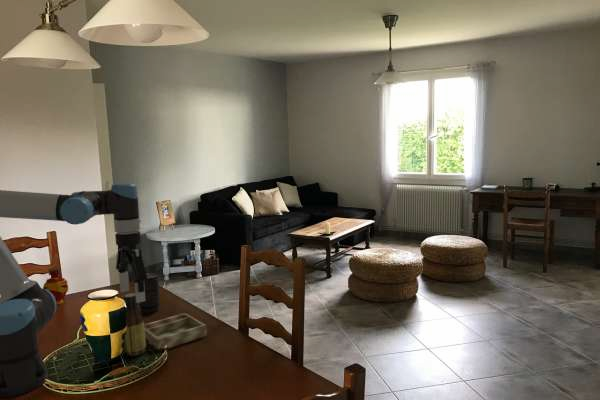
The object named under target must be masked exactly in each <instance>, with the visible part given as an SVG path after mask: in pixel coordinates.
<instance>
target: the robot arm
mask: <svg viewBox="0 0 600 400" xmlns="http://www.w3.org/2000/svg"><path fill="white" fill-rule="evenodd" d="M137 189H138V188H137V185H136V184H135V183H132V182H122V183H121V182H120V183H113V184H111V189H108V190H88V191H87V190H83V191H75V192H72V193H71V194H60V193H59V194H57V193H48V192H47V193H45V192H44V193H43V192H32V191H17V190H2V189H0V218H8V219H23V220H25V219H26V220H39V221H40V220H42V221H55V222H57V221H59V222H66V223H68V224H70V225H76V226H77V225H82V224H84V223H85V224H86V222H88V221H89V220H90V219H92V218H93V217H95V216H101V215H102V216H103V215H104V216H105V215H113V226H114V233H115V236H114V237H115V245H116V246H117V255H116V262H115V269H116V270H117V272H118V274H119V275H118V276H119V277H118V278H119V289H120V290H119V291H120V293H121V294H122V293H127V292H129V291H130V281H129V270H130V269H131V271H132V274H133V277H134V280H133V283H134V291H135V292H134V293H135V294H136V303H137V304H139V302H143V301H146V300H145V286H144V281H145V280H147V276H146V273H147V272H146V269H145V265H144V260H143V256H142V250H141V249H137V245H139V244H141V242H142V237H141V231H140V229H141V227H140V226H141V225H140V223H141V222H142V221H141V219H140V210H139V196H138V191H137ZM129 265H130V269H129V268H128V267H129ZM140 277H141V278H140ZM56 311H57V304H56V300H55V297H54V296H53V294H52V293H51V292H50V291H48V290H46V289H43V287H41V286H40V284H39V282H38V281H36V280H33V279H29V277H28V276H27V274H26V273H25V271H24V270H23V268H22V266H21V265H20V264H19V263H18V261H17V258H15V257H14V255H13V253H12V252H11V250H10V249H9V248H8V246H7V244H6V242H5V241H4V240H3V238H2V237H1V236H0V398H11V397H16V396H20V395H23V394H25V393H28V392H30V391H33V390H35V389H37V388H39V387H41V386H42V385H44V383H45V382H46V381H45V379H47V380H48V377H49V374H48V368H47V366H46V364H45V362H44V360H43V359H42V357H41V354H40V353H39V343H38V334H39V332H41V331H42V329H44V327H45V326H46V325H48V324H49V323H50V322H51V321H52V319H53V317H54V315H55V313H56ZM44 381H45V382H44Z"/></svg>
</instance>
